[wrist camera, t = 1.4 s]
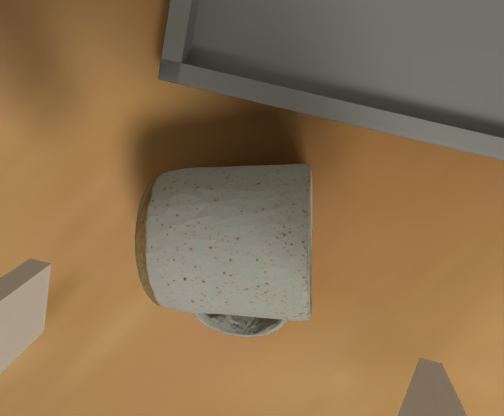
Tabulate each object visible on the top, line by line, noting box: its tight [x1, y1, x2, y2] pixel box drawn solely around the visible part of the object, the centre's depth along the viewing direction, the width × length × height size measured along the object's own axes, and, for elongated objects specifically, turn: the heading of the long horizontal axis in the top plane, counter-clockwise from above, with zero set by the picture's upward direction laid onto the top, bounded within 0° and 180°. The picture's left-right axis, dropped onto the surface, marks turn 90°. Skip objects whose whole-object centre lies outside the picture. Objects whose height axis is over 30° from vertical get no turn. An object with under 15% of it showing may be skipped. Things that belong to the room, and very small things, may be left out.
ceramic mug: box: [135, 164, 313, 337], centre depth 24 cm, size 11×8×8 cm
